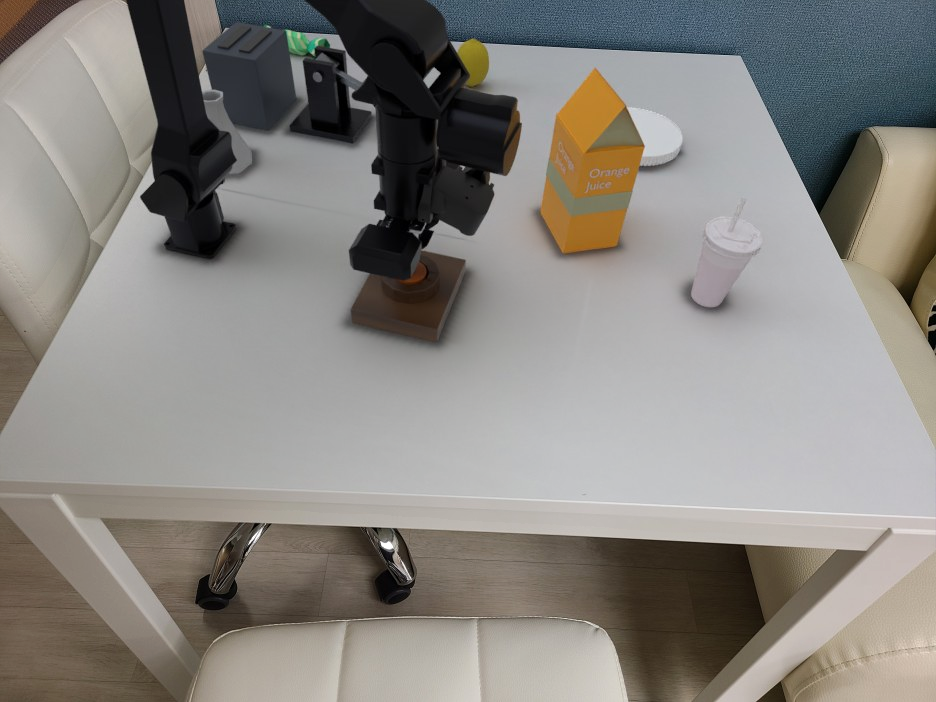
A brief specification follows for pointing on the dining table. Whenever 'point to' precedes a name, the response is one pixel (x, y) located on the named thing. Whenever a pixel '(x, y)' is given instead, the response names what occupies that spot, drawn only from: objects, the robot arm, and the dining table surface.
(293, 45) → the candy
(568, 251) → the orange juice
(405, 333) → the control block
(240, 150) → the flask
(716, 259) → the smoothie
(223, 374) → the dining table surface
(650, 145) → the plastic lid
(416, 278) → the button
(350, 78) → the black lever
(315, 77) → the lever bracket
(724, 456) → the dining table surface
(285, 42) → the toaster
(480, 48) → the lemon
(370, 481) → the dining table surface
